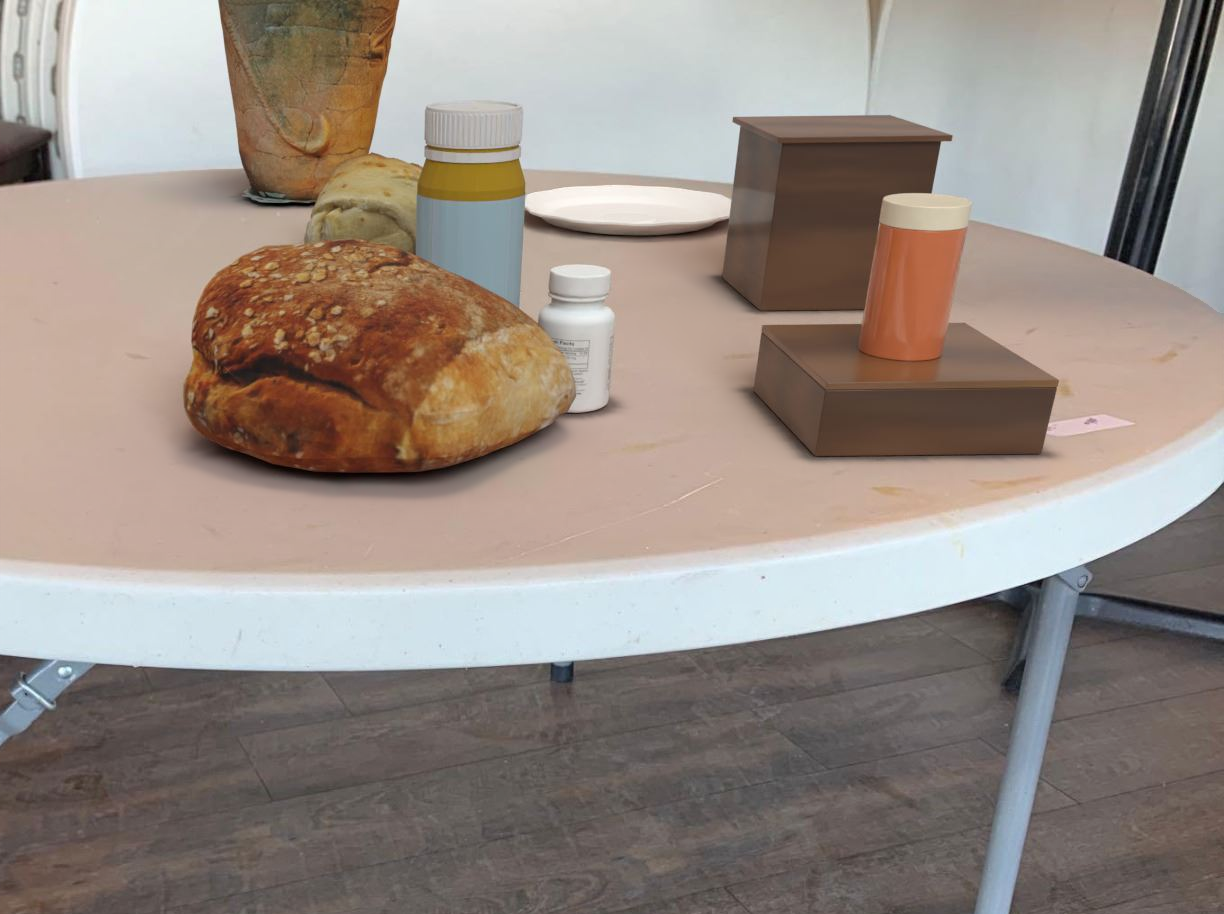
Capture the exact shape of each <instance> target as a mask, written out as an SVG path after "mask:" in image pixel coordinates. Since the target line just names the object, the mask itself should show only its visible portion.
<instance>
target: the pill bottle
mask: <svg viewBox="0 0 1224 914" xmlns="http://www.w3.org/2000/svg"><path fill="white" fill-rule="evenodd" d="M611 281H612V271H611V269H609V268H607V267H604V266H601V265H595V264H584V263H583V264H580V263H579V264H577V263H575V264H563V265H557V266H554V267H551V268H550V270H549V279H548V292H547V296H548V297H549V298H551V302H550V303H548V304H546V305H545V306H544V307H542V309H540V311H539V313H538V317H537V323H538V324H540V326H541V327H542V328H543V329H544V330H545V331H546V332H547V333H548V334H549V335H550V337H551V339H552V340H553V342H554V343H555V345H556V346H557V348H558V349H559V350H560V351H561V353H562V354H563V355H564V356H565V358H566V360H567V361H568V363H569V366H570V368H571V371H572V374H573V377H574V379H575V389H576V397H575V399H574V401H573V403H572V405H571V406H570V408H569V410H568V412H567V413H569V414H570V413H572V414H573V413H574V414H578V413H587V412H588V413H589V412H593V411H597V410H600V409H602V408H603V407H605V406H606V405H607V404H608V403H609V399H610V389H611V376H612V365H613V353H614V342H615V341H614V339H615V329H616V314H615V313H614V311H613V310H612V309H611V308H610V307H609V306H607V305H605V300H606V299H608V298H609V297H610V294H609V293H610V292H611Z"/></svg>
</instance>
